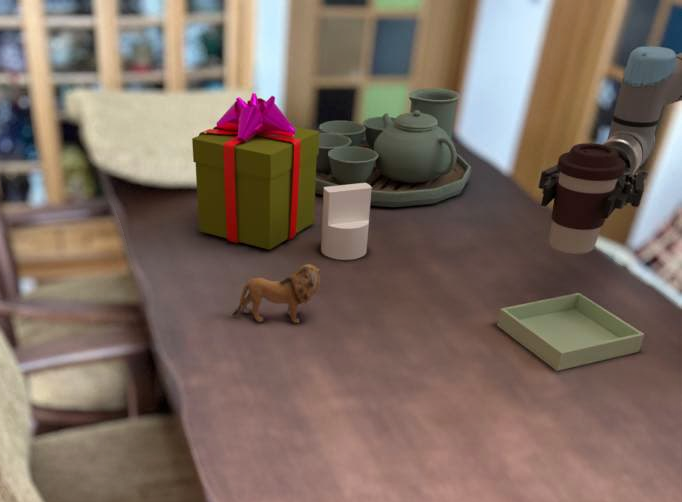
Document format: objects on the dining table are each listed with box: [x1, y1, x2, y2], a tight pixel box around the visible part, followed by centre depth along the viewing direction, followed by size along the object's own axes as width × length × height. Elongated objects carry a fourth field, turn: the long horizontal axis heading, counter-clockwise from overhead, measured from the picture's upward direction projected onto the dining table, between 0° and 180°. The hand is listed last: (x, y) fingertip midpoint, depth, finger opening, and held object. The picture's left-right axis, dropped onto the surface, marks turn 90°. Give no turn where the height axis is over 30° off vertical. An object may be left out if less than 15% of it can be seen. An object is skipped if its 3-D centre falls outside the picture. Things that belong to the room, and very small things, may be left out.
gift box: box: [191, 92, 320, 250], centre depth 161 cm, size 21×21×25 cm
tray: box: [496, 292, 646, 372], centre depth 134 cm, size 16×16×3 cm
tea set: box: [315, 87, 472, 208], centre depth 187 cm, size 40×40×16 cm
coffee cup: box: [548, 142, 626, 255], centre depth 130 cm, size 10×10×15 cm
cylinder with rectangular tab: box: [320, 183, 372, 261], centre depth 158 cm, size 9×9×12 cm
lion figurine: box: [231, 263, 321, 324], centre depth 137 cm, size 15×5×9 cm, turn 94°
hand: (575, 203), depth 127 cm, fingers closed on coffee cup, 9 cm apart
